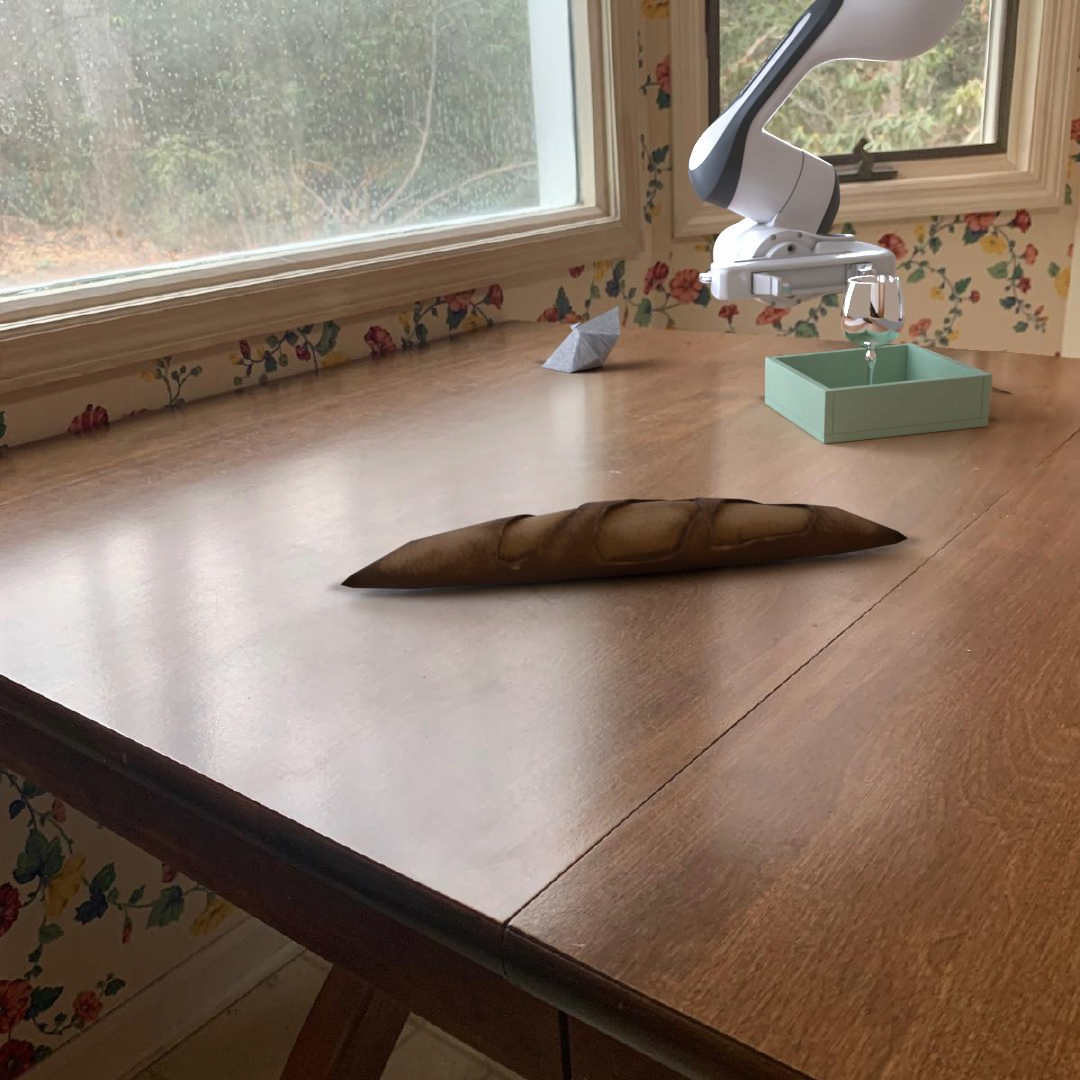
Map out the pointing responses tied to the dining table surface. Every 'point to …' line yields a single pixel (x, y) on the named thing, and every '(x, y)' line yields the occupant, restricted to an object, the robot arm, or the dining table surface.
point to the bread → (623, 542)
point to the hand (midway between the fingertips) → (827, 283)
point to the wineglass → (872, 314)
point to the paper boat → (587, 344)
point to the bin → (877, 393)
